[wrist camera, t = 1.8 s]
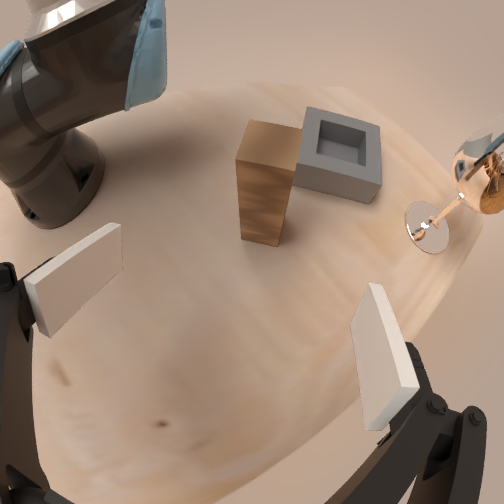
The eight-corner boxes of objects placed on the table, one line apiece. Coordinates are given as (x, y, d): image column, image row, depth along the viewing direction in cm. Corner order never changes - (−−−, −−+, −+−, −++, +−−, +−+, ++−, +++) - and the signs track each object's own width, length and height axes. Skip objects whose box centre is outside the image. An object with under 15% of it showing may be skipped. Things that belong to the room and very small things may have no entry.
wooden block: (241, 238, 31) (235, 159, 18) (250, 207, 33) (249, 119, 19) (277, 247, 31) (295, 171, 18) (284, 215, 32) (303, 129, 19)
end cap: (291, 184, 34) (296, 162, 30) (302, 129, 37) (306, 106, 33) (368, 204, 33) (381, 185, 29) (369, 146, 36) (379, 126, 32)
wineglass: (435, 267, 30) (550, 190, 11) (394, 225, 32) (490, 117, 13) (455, 228, 32) (548, 149, 13) (418, 191, 34) (497, 92, 15)
